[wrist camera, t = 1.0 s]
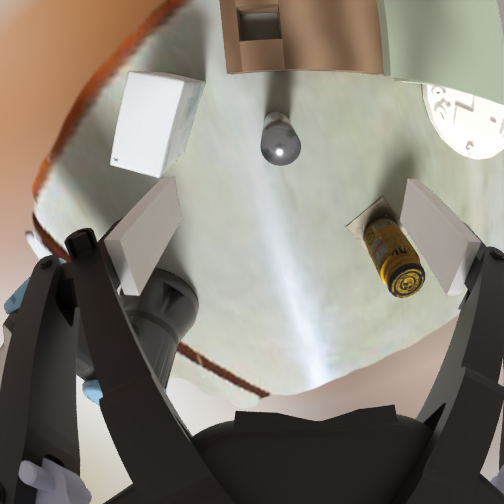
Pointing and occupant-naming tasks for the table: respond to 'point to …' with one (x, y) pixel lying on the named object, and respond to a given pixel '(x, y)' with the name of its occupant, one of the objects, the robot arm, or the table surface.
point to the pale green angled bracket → (444, 44)
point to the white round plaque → (466, 121)
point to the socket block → (306, 36)
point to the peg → (279, 140)
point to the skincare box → (154, 121)
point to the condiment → (389, 249)
